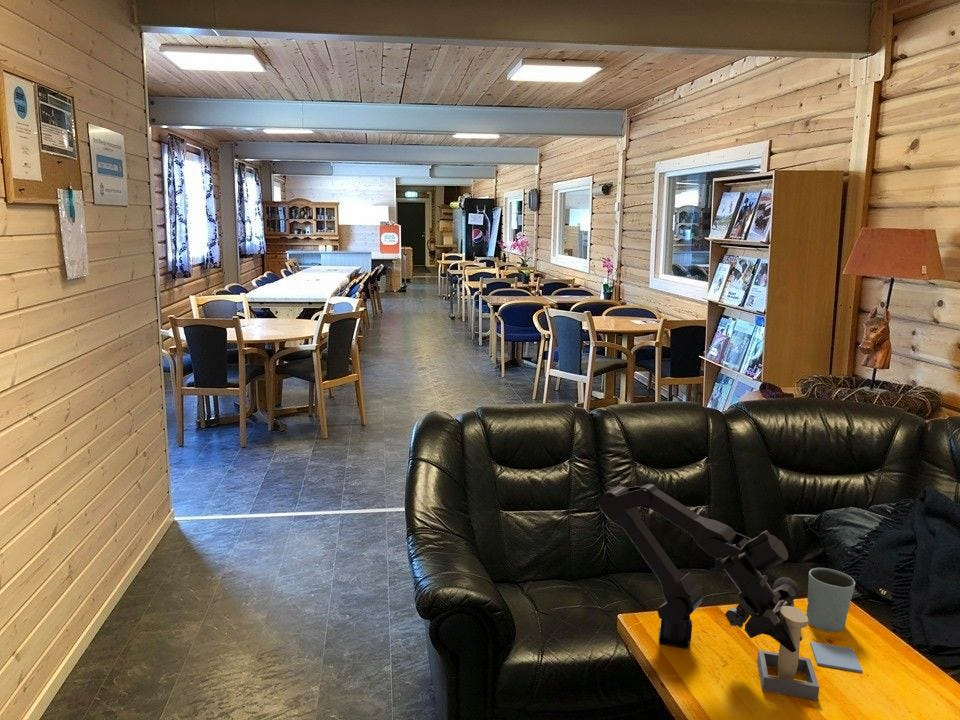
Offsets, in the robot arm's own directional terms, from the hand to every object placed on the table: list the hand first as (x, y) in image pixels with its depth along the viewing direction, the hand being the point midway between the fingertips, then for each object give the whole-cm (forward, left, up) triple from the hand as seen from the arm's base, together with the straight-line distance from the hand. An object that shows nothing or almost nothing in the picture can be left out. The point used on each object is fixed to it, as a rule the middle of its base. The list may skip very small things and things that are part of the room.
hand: (797, 646), depth 150 cm
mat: (+11, +14, -8) cm, 19 cm away
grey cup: (+12, +30, -9) cm, 33 cm away
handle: (-1, +1, -8) cm, 8 cm away
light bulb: (+2, +30, -9) cm, 31 cm away
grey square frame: (-1, +1, -8) cm, 8 cm away
